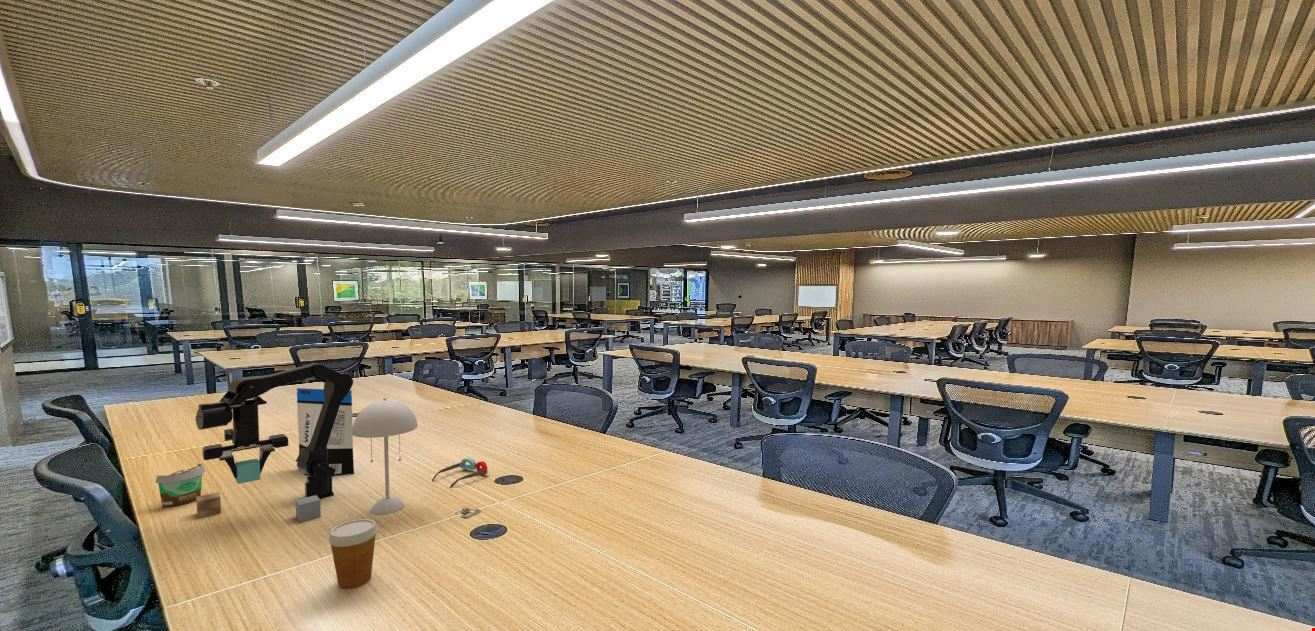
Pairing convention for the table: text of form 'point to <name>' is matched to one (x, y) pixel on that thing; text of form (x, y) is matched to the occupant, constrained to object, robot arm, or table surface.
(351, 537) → the disposable coffee cup
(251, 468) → the teal block
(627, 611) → the table surface
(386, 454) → the lamp
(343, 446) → the protein powder
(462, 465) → the novelty glasses
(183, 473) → the food container
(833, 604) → the table surface
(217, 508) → the walnut block
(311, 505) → the slate block
